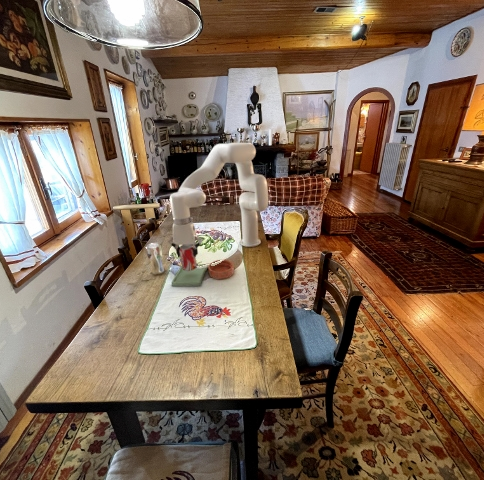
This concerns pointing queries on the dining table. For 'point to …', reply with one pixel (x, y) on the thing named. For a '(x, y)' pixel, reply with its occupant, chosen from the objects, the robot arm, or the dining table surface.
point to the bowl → (221, 269)
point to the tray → (188, 277)
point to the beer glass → (155, 258)
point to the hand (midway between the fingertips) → (187, 255)
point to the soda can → (187, 257)
